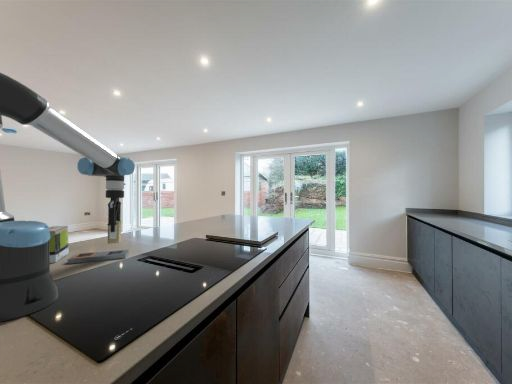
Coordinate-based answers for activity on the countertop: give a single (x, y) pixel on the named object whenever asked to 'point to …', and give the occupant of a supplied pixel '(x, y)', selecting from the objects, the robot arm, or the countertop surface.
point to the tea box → (58, 242)
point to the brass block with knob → (118, 239)
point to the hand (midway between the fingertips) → (114, 237)
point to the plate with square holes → (98, 256)
